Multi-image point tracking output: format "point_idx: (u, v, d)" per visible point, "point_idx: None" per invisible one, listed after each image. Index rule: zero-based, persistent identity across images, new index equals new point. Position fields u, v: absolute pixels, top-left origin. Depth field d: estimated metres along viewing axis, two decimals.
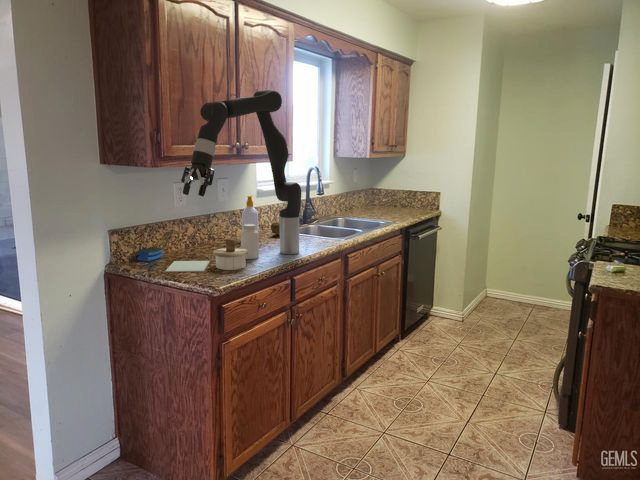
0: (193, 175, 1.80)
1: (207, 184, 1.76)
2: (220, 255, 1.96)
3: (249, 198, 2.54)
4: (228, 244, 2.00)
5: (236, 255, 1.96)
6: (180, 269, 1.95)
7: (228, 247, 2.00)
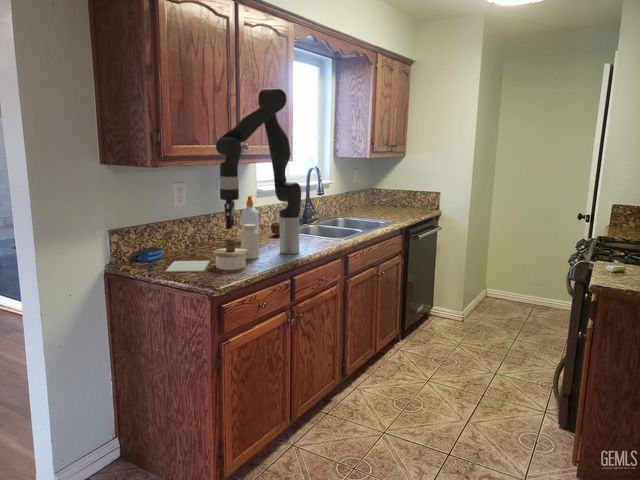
0: None
1: (227, 218, 1.93)
2: (220, 255, 1.96)
3: (249, 198, 2.54)
4: (228, 244, 2.00)
5: (236, 255, 1.96)
6: (180, 269, 1.95)
7: (228, 247, 2.00)
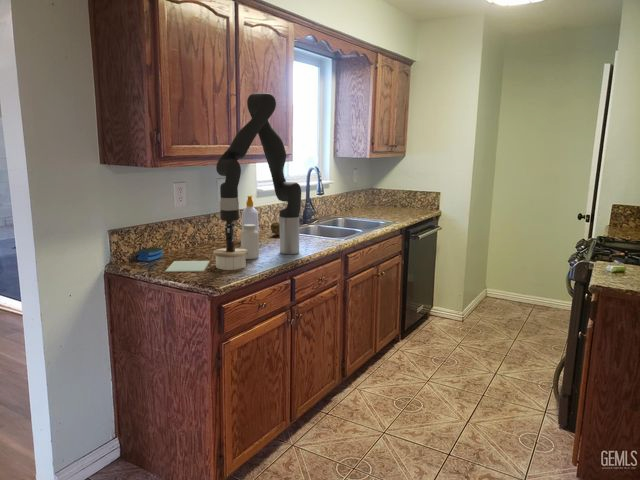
0: None
1: (228, 241, 1.97)
2: (220, 255, 1.96)
3: (249, 198, 2.54)
4: None
5: (236, 255, 1.96)
6: (180, 269, 1.95)
7: None
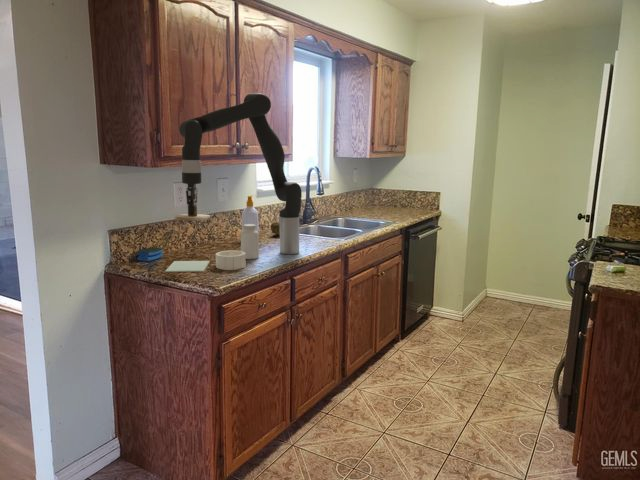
0: None
1: (190, 204, 1.92)
2: (181, 218, 1.91)
3: (249, 198, 2.54)
4: None
5: (197, 219, 1.91)
6: (180, 269, 1.95)
7: None
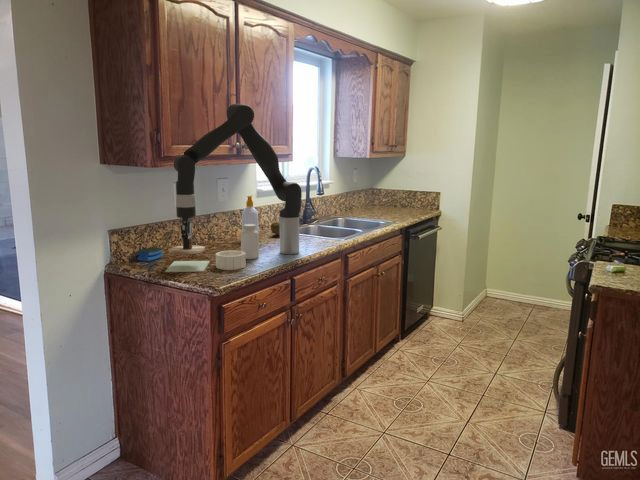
0: None
1: (184, 238, 1.95)
2: (176, 252, 1.94)
3: (249, 198, 2.54)
4: None
5: (192, 252, 1.94)
6: (180, 269, 1.95)
7: None
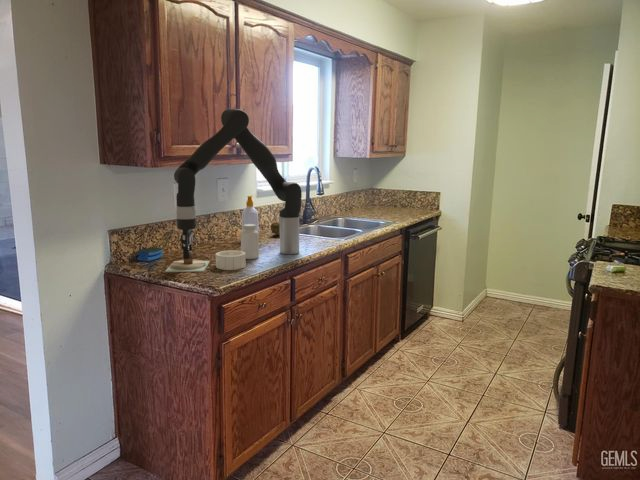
0: None
1: (184, 249, 1.94)
2: (176, 268, 1.95)
3: (249, 198, 2.54)
4: None
5: (192, 268, 1.95)
6: None
7: (185, 259, 1.99)
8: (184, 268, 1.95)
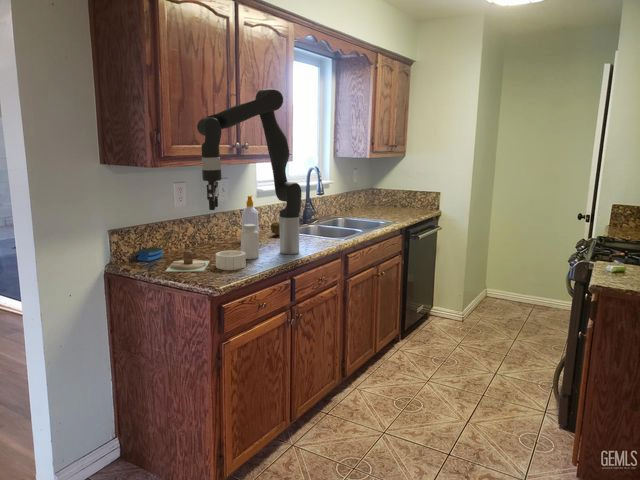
0: None
1: (210, 199, 1.92)
2: (176, 268, 1.95)
3: (249, 198, 2.54)
4: (185, 256, 1.99)
5: (192, 268, 1.95)
6: None
7: (185, 259, 1.99)
8: (184, 268, 1.95)
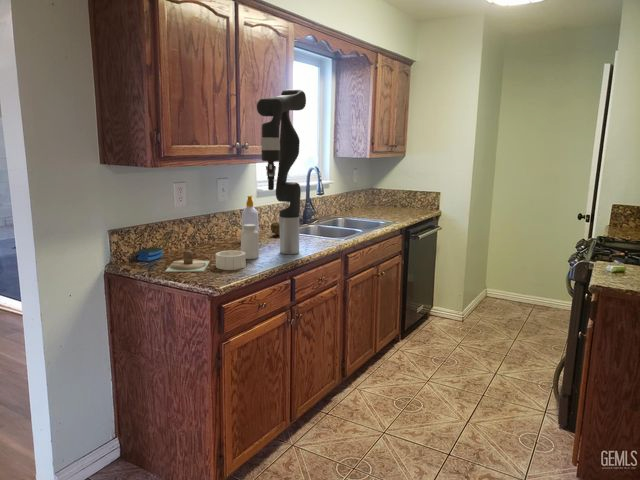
0: None
1: (270, 179, 1.93)
2: (176, 268, 1.95)
3: (249, 198, 2.54)
4: (185, 256, 1.99)
5: (192, 268, 1.95)
6: None
7: (185, 259, 1.99)
8: (184, 268, 1.95)
